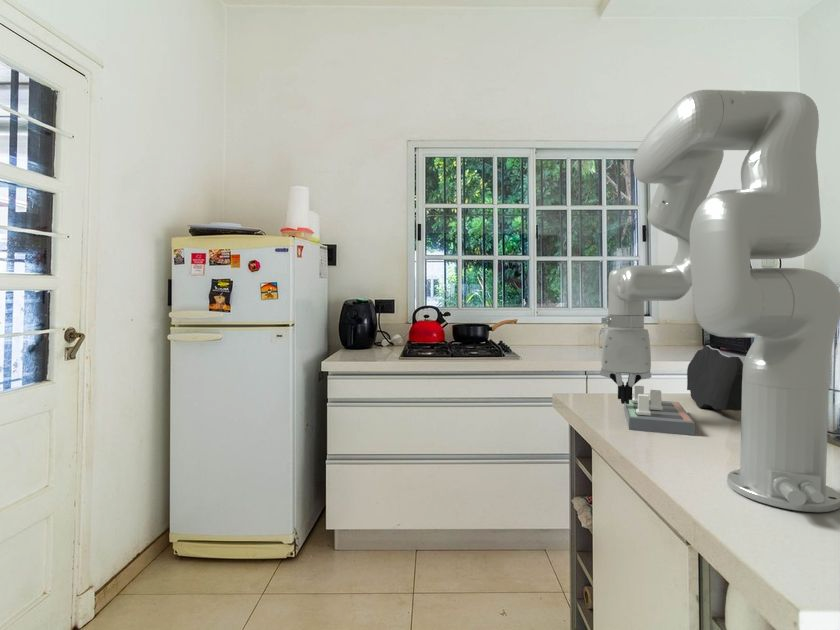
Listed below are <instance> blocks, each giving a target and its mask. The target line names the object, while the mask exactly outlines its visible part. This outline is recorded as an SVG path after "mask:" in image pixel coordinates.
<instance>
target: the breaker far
mask: <svg viewBox="0 0 840 630" xmlns="http://www.w3.org/2000/svg"><path fill="white" fill-rule="evenodd" d="M638 394H645V385H644V384H638V383H636V384H635V385H634V386H633V397H632V401H633V403H638Z"/></svg>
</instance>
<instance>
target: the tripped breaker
mask: <svg viewBox="0 0 840 630" xmlns="http://www.w3.org/2000/svg"><path fill="white" fill-rule="evenodd" d="M649 400H650V404H649V409H653V410H663V407H662V405H661V401H662V391H661V390H660V389H650V394H649Z"/></svg>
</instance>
